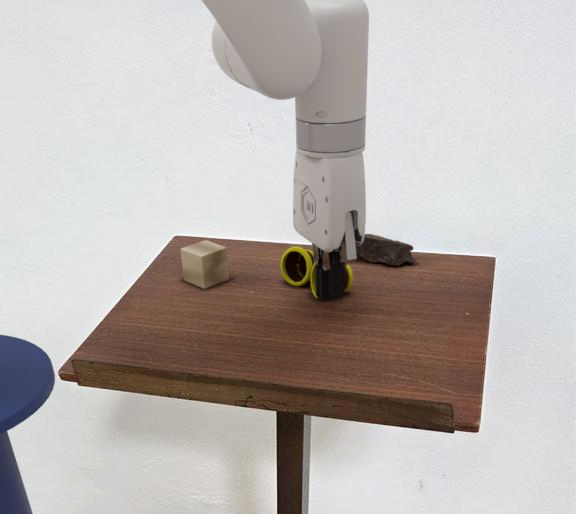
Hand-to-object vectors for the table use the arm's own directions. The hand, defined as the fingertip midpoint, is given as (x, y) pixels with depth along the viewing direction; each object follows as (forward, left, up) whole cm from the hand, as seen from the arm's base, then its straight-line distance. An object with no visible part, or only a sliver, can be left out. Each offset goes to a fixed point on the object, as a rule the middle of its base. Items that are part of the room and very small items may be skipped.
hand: (330, 296), depth 92 cm
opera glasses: (+2, +7, -2) cm, 7 cm away
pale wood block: (-10, +16, -2) cm, 19 cm away
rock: (+14, +12, -2) cm, 18 cm away
